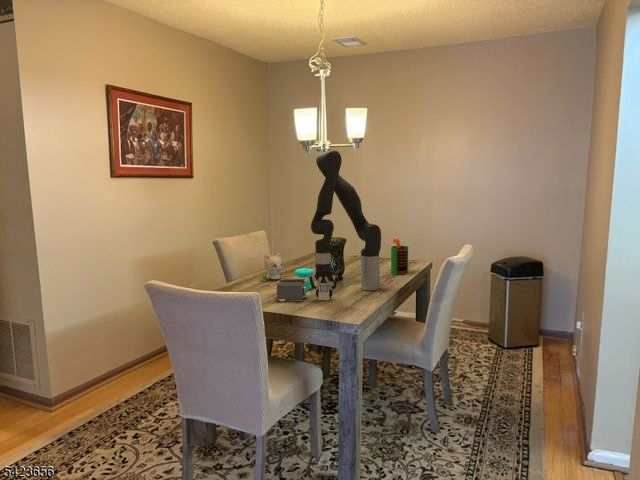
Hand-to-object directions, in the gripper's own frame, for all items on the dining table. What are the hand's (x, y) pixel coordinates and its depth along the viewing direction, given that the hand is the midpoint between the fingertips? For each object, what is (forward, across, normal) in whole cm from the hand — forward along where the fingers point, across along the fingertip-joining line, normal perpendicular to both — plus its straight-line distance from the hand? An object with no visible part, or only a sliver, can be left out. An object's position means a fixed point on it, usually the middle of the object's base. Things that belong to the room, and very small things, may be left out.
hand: (324, 297), depth 218 cm
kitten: (+1, +32, -41) cm, 52 cm away
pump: (+1, 0, 0) cm, 1 cm away
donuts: (+1, +12, -21) cm, 24 cm away
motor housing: (+1, +16, -2) cm, 16 cm away
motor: (+1, -39, -55) cm, 67 cm away
